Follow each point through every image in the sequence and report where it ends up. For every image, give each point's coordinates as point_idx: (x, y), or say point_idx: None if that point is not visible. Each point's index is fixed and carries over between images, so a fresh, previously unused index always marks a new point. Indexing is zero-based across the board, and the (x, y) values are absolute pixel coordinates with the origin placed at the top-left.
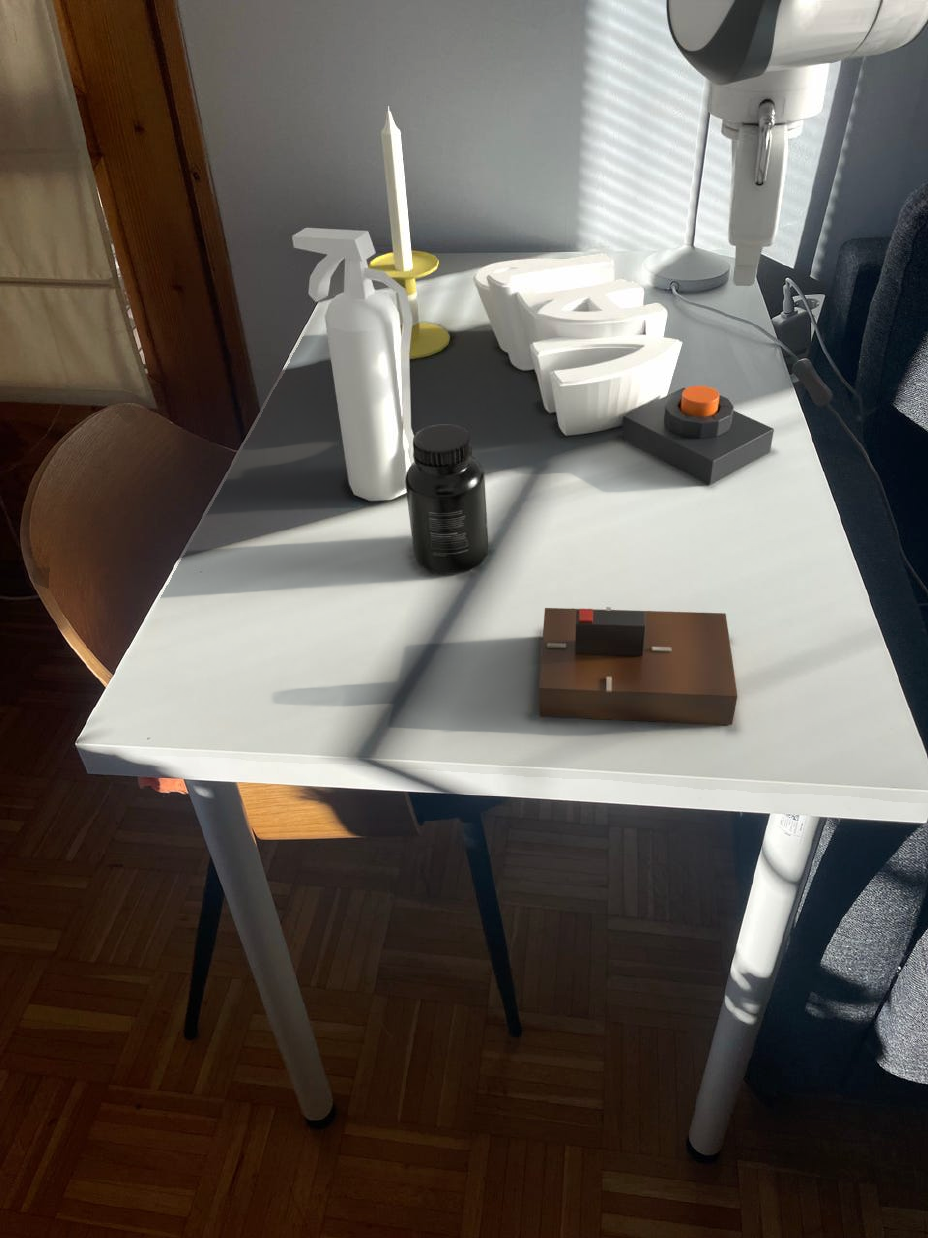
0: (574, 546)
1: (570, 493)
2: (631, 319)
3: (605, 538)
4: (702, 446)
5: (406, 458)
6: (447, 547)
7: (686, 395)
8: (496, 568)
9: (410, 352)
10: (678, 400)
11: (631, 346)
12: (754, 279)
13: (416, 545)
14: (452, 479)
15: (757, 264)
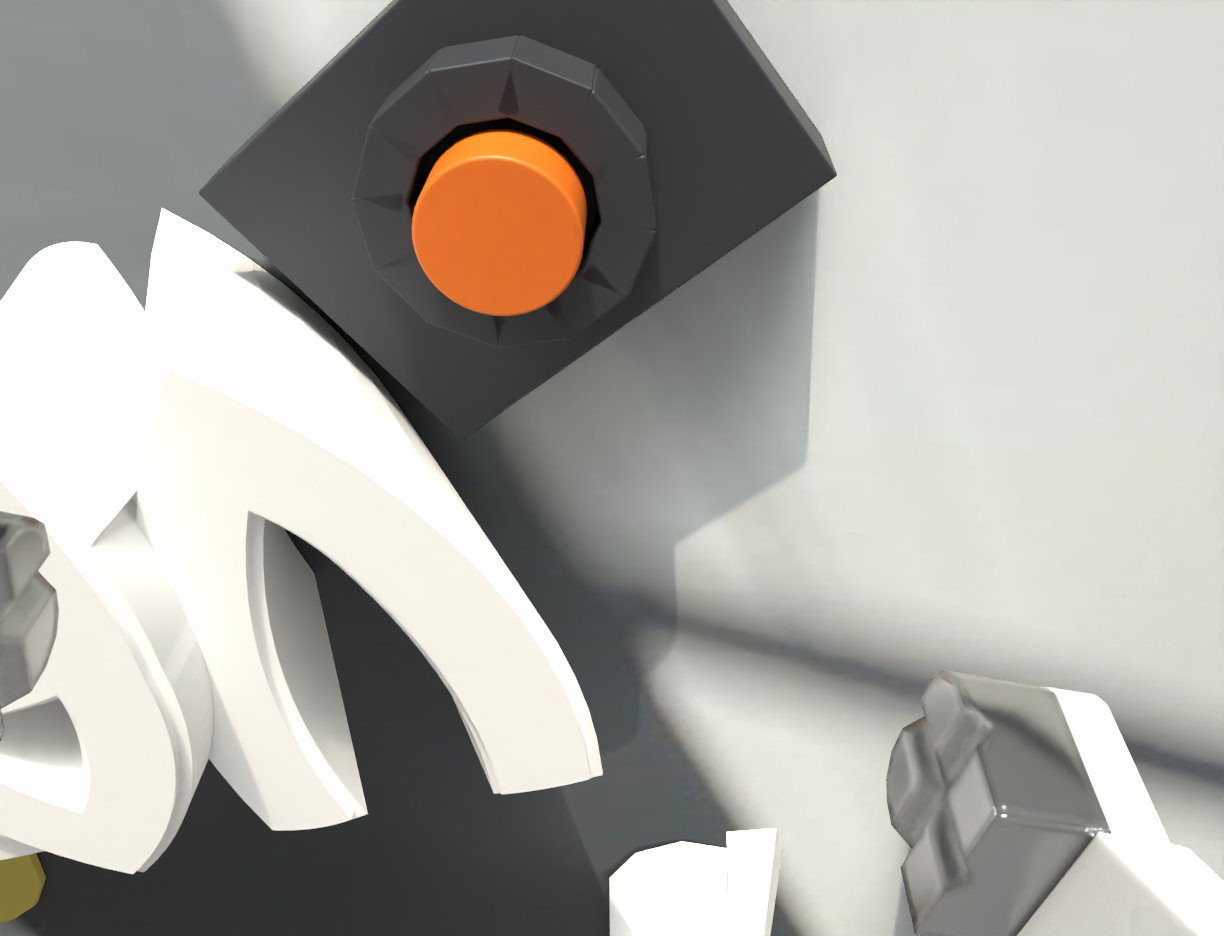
0: (1059, 558)
1: (792, 550)
2: (112, 599)
3: (1047, 486)
4: (716, 197)
5: (723, 926)
6: None
7: (512, 303)
8: None
9: (12, 862)
10: None
11: (248, 548)
12: (1115, 726)
13: None
14: None
15: (1199, 858)
